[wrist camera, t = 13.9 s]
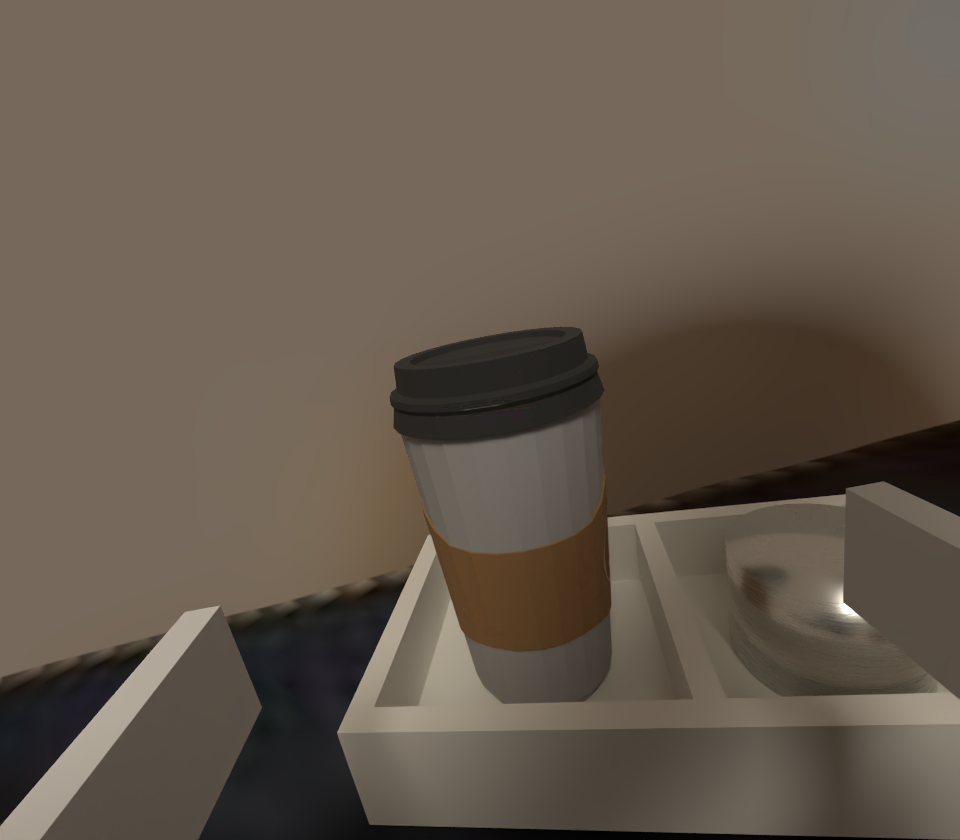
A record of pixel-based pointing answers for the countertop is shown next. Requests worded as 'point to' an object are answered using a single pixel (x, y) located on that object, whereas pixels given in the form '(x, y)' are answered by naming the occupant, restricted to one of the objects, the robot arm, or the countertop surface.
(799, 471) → the countertop surface
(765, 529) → the metal tin
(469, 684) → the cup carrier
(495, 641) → the coffee cup
